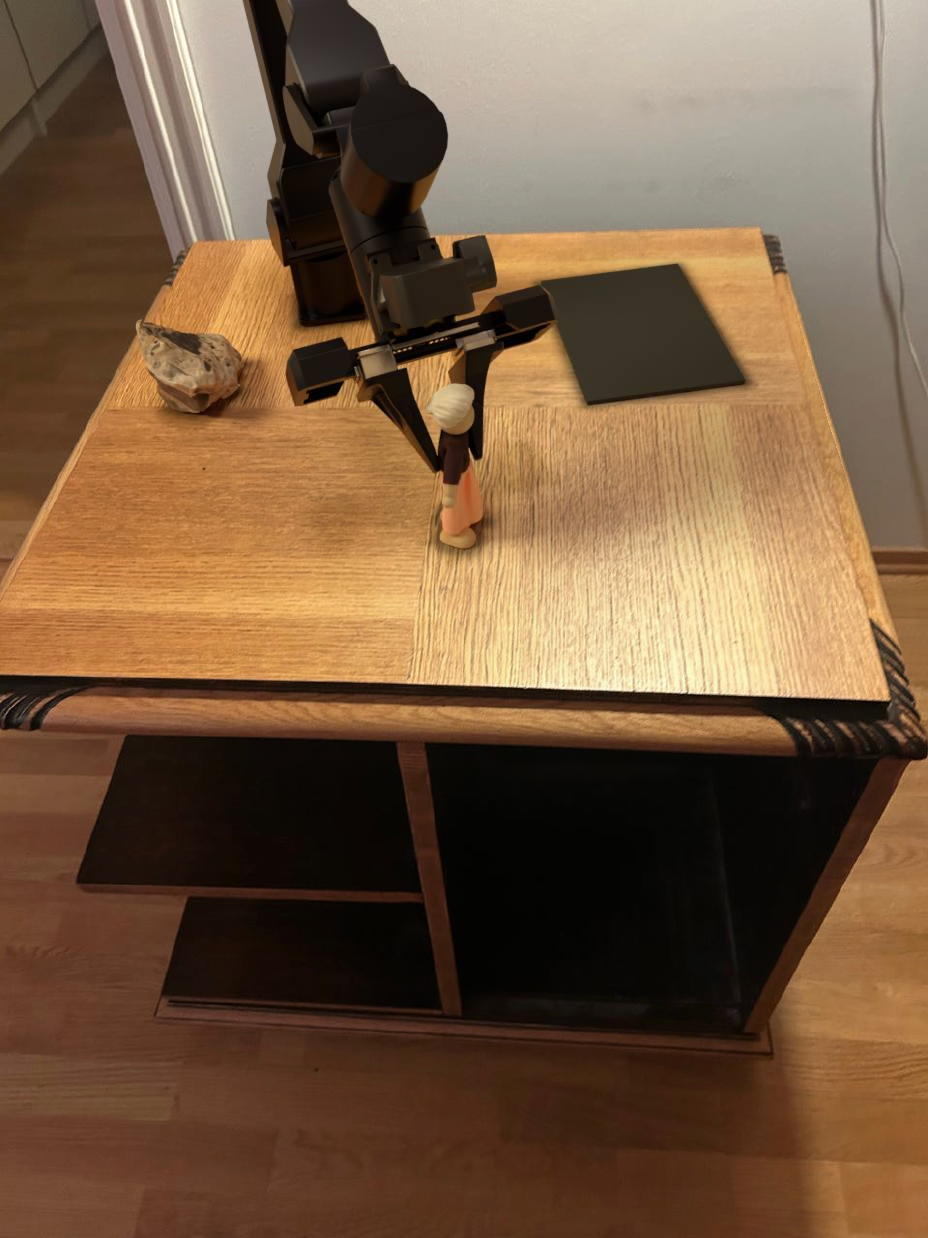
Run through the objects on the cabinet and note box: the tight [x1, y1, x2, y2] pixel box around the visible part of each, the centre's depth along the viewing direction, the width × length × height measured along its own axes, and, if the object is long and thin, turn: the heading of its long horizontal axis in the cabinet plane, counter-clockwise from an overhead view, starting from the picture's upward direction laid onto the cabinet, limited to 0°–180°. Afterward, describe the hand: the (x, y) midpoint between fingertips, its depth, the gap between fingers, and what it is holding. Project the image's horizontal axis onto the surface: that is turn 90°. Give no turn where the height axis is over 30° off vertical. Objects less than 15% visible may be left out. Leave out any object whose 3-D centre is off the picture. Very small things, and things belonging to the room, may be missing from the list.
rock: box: [135, 319, 245, 414], centre depth 81 cm, size 9×7×10 cm
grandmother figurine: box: [425, 383, 484, 550], centre depth 66 cm, size 8×4×13 cm, turn 9°
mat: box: [540, 263, 746, 406], centre depth 86 cm, size 14×20×1 cm
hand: (457, 465), depth 64 cm, fingers closed on grandmother figurine, 3 cm apart
